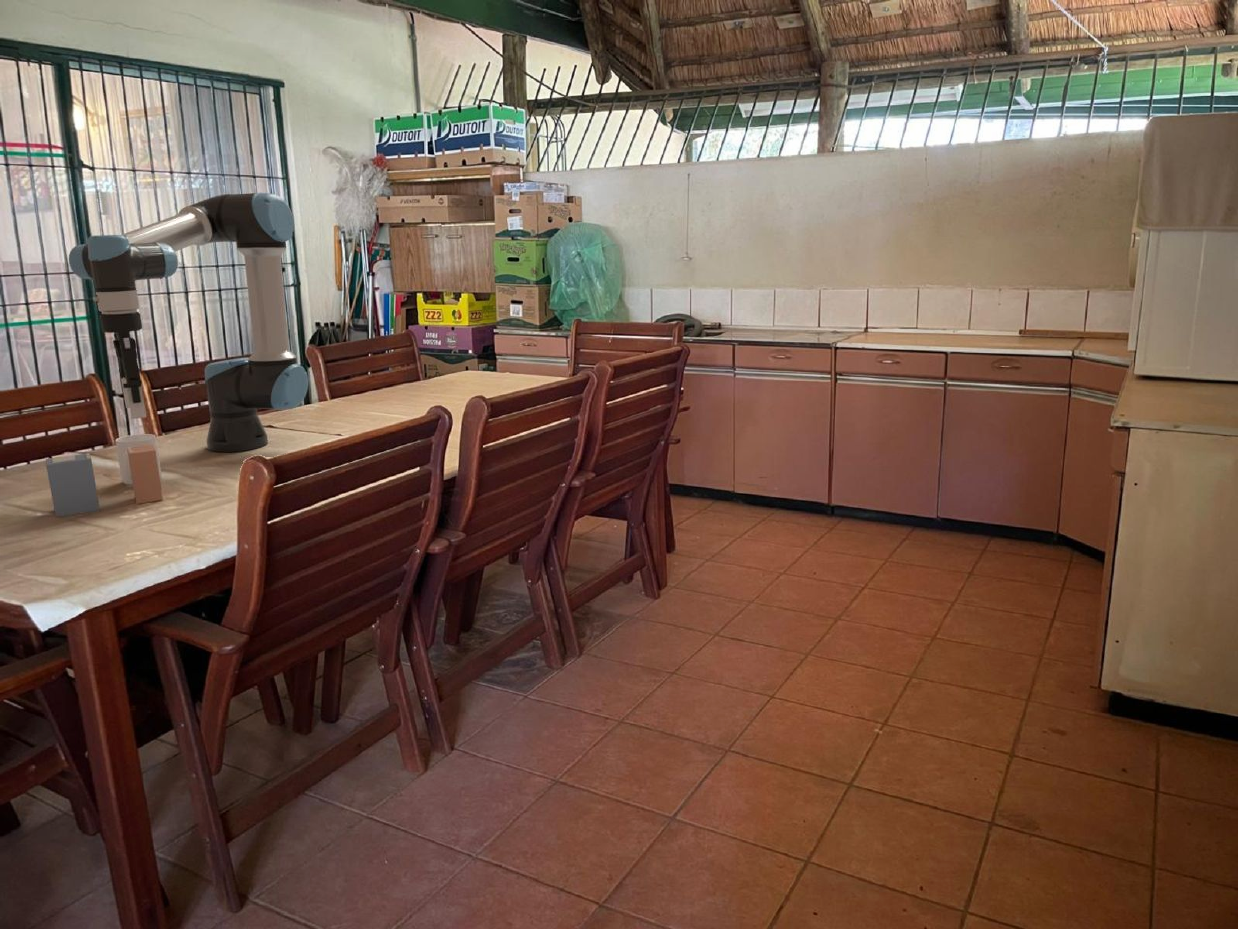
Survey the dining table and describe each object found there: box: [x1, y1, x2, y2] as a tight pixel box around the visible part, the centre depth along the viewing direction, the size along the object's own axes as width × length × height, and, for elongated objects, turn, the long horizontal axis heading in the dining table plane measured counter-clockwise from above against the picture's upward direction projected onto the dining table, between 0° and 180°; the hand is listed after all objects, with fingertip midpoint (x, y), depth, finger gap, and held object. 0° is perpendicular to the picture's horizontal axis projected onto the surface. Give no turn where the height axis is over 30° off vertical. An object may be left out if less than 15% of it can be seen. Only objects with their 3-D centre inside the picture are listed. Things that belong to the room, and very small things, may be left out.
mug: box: [114, 433, 162, 486], centre depth 212 cm, size 12×8×10 cm
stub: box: [127, 445, 164, 505], centre depth 199 cm, size 5×6×11 cm
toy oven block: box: [45, 452, 101, 518], centre depth 192 cm, size 8×6×11 cm
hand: (136, 412), depth 196 cm, fingers open, 13 cm apart
